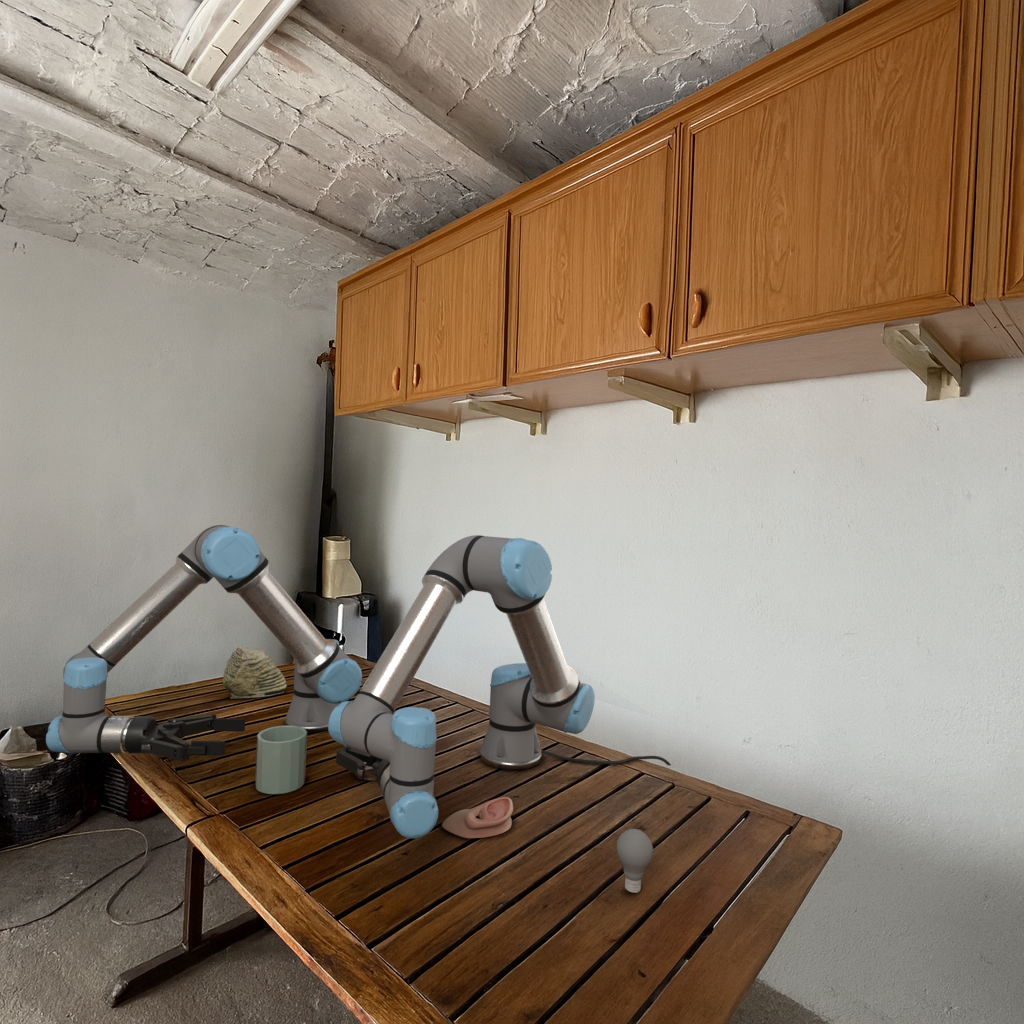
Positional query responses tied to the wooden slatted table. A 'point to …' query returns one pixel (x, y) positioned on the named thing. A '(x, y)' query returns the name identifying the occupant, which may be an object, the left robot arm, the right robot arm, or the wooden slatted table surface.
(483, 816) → the anatomical model
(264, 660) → the fossil
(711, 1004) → the wooden slatted table surface
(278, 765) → the pot
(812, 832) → the wooden slatted table surface
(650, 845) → the light bulb
